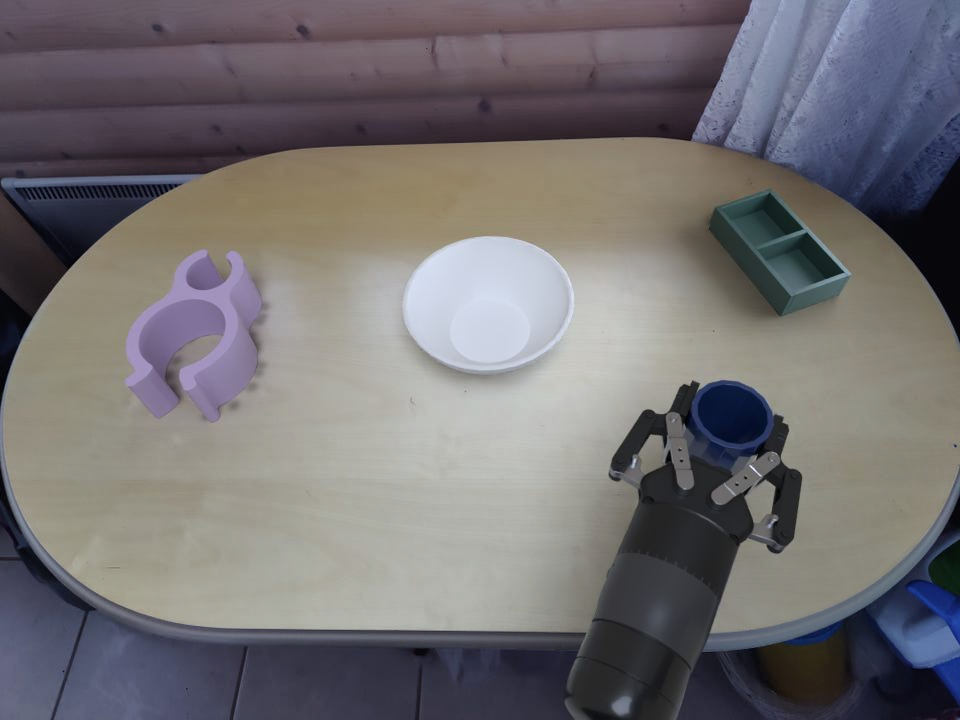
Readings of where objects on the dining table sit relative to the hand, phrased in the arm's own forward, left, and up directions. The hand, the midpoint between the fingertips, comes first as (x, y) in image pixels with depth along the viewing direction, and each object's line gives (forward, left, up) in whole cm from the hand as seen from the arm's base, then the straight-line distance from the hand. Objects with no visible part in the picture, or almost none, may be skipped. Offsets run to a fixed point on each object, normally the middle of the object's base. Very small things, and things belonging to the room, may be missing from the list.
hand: (734, 402), depth 55 cm
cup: (0, +2, -8) cm, 8 cm away
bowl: (+28, -8, -18) cm, 34 cm away
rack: (+2, -35, -18) cm, 39 cm away
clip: (+57, +10, -18) cm, 61 cm away
